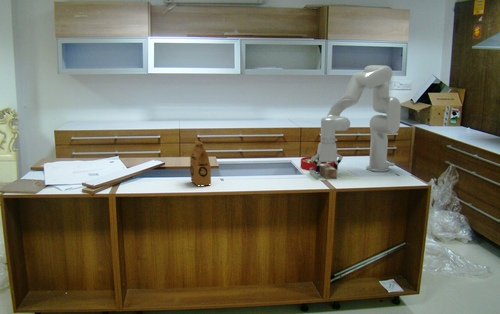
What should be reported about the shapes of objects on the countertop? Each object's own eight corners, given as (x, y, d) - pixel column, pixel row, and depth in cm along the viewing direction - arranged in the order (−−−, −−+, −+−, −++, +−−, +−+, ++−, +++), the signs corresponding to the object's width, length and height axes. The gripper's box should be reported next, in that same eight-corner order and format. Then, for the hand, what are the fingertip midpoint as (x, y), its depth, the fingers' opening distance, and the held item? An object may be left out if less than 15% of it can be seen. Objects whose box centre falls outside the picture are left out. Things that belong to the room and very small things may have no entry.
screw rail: (312, 173, 254) (312, 167, 253) (320, 179, 242) (320, 172, 241) (308, 173, 254) (308, 167, 253) (315, 179, 241) (315, 173, 240)
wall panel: (348, 173, 259) (348, 171, 259) (359, 180, 244) (359, 178, 244) (303, 175, 255) (303, 173, 255) (312, 182, 240) (312, 180, 239)
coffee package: (194, 187, 231) (192, 144, 227) (189, 181, 243) (187, 140, 238) (213, 186, 234) (212, 143, 230) (207, 180, 246) (206, 139, 241)
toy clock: (298, 156, 277) (332, 156, 277) (298, 165, 279) (331, 165, 279) (302, 163, 258) (338, 163, 258) (302, 173, 259) (338, 173, 259)
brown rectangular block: (327, 172, 256) (328, 163, 255) (336, 178, 243) (337, 169, 242) (317, 172, 255) (317, 163, 254) (325, 179, 242) (326, 169, 241)
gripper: (340, 139, 250) (339, 169, 253) (309, 140, 247) (309, 171, 250) (345, 141, 243) (344, 173, 246) (314, 142, 240) (313, 174, 243)
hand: (326, 172), depth 248 cm, fingers open, 9 cm apart
